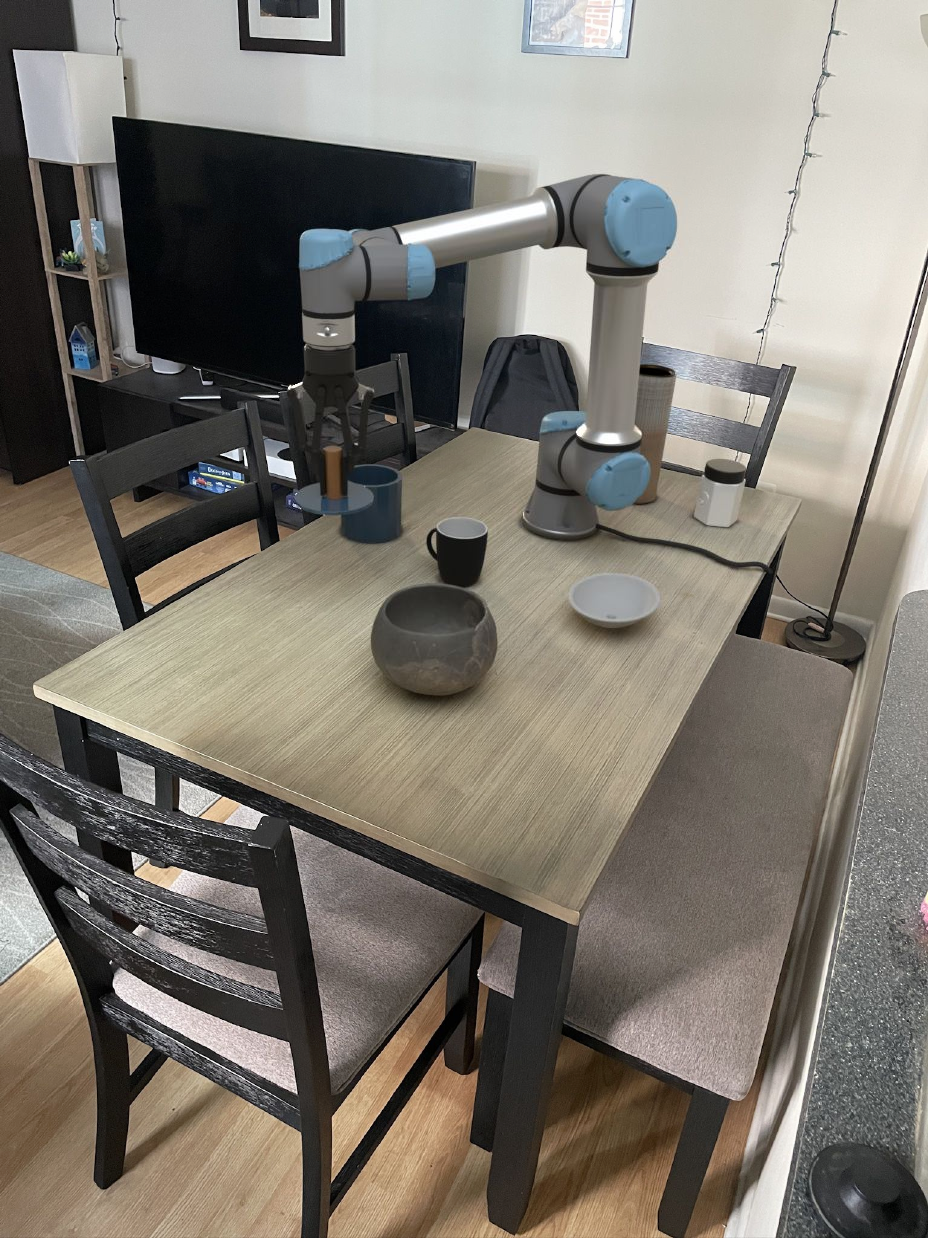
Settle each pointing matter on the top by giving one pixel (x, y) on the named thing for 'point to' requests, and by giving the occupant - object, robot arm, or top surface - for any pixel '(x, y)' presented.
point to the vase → (653, 419)
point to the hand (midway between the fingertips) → (334, 492)
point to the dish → (614, 599)
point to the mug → (459, 549)
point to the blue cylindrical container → (376, 505)
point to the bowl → (434, 638)
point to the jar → (720, 492)
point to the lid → (334, 490)
